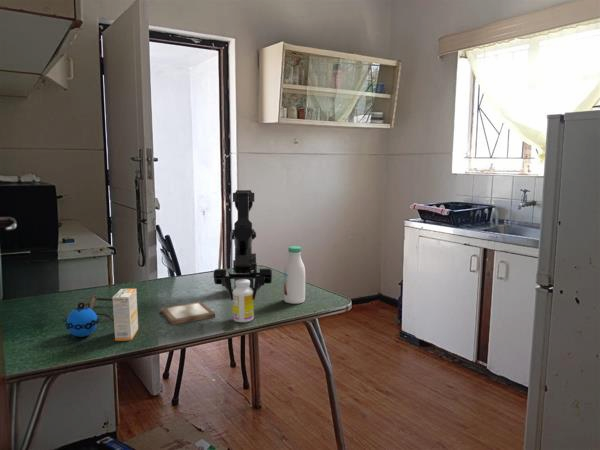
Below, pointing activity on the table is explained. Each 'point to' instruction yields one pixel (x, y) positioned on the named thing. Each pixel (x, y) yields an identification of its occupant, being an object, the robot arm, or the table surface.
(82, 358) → the table surface
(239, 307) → the supplement bottle
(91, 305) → the eyeglasses
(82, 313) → the ornament
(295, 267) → the milk bottle
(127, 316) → the supplement box
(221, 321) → the table surface
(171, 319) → the walnut picture frame
